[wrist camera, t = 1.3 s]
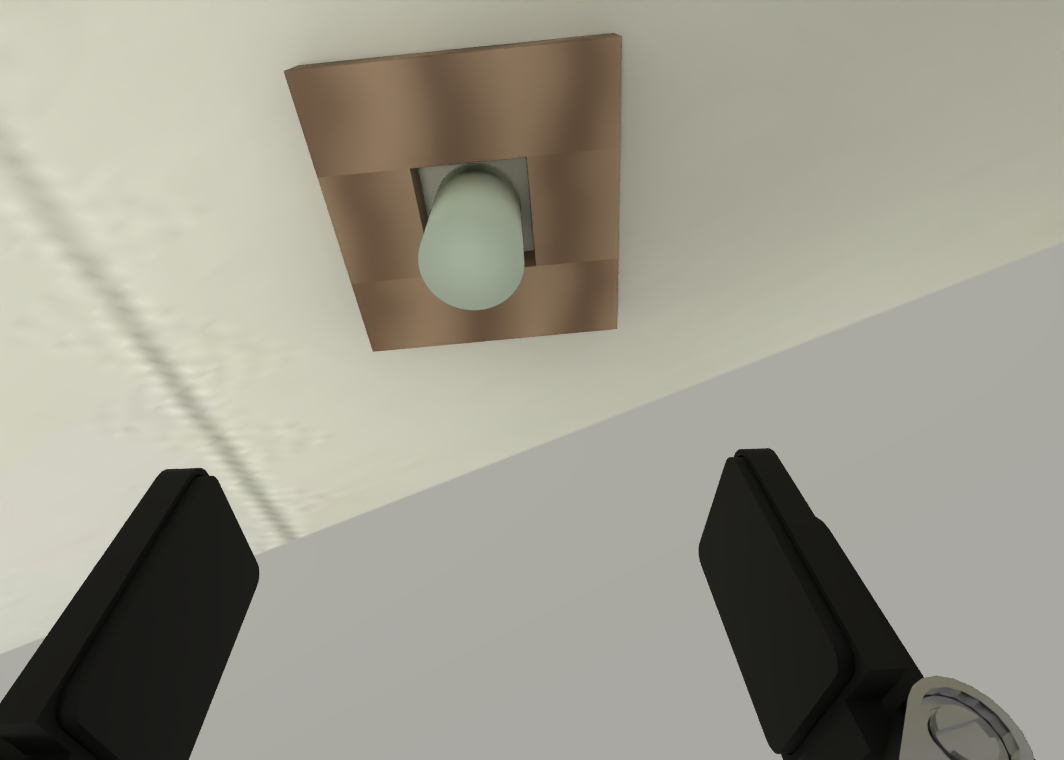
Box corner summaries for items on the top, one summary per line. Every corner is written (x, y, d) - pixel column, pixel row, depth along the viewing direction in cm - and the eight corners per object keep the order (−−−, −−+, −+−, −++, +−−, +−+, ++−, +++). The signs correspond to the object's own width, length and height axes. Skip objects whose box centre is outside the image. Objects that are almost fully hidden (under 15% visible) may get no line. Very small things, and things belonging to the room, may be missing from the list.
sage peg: (515, 158, 30) (518, 206, 23) (524, 242, 33) (528, 305, 26) (428, 167, 30) (407, 217, 24) (444, 250, 33) (429, 314, 27)
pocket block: (614, 33, 26) (621, 36, 25) (611, 312, 36) (617, 328, 34) (298, 65, 27) (283, 71, 25) (379, 333, 36) (373, 351, 35)
